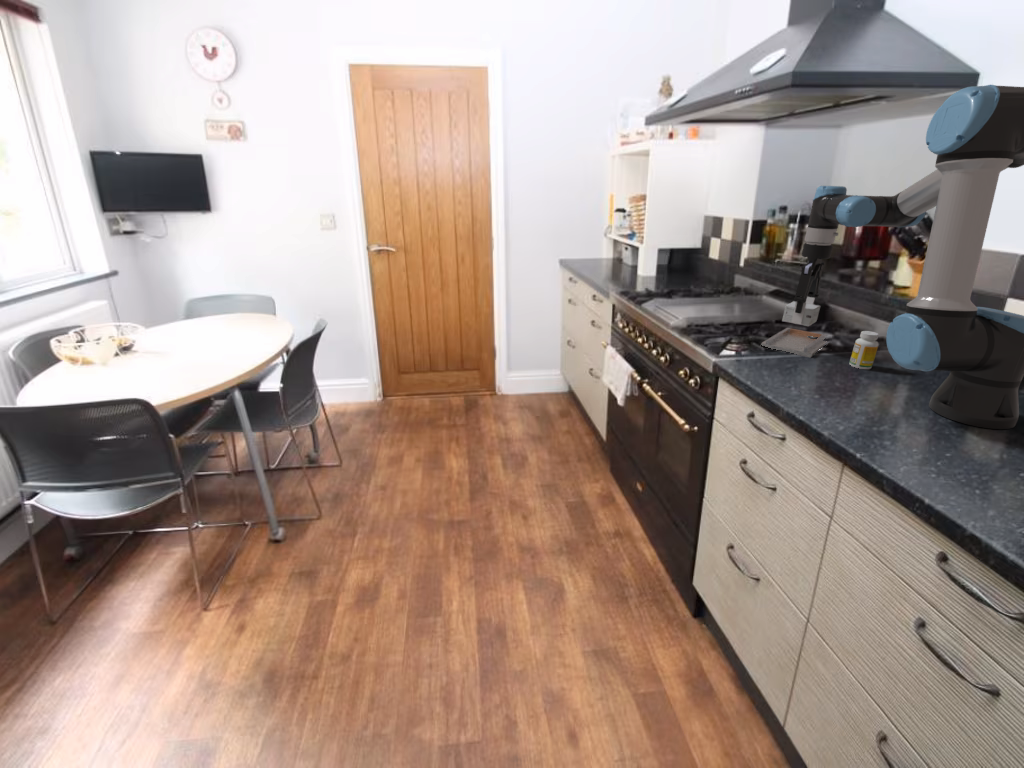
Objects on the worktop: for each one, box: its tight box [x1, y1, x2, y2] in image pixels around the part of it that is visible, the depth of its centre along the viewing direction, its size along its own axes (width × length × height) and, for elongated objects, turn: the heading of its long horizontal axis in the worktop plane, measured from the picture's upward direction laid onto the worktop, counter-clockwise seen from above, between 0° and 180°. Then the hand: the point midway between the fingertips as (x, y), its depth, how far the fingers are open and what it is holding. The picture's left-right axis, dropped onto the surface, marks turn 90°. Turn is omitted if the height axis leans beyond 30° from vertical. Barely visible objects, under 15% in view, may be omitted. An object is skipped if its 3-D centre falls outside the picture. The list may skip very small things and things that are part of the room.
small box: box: [781, 300, 821, 327], centre depth 162 cm, size 8×8×5 cm
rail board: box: [760, 327, 827, 359], centre depth 164 cm, size 20×14×2 cm
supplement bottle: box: [848, 330, 879, 370], centre depth 146 cm, size 5×5×10 cm
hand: (800, 320), depth 162 cm, fingers closed on small box, 8 cm apart
